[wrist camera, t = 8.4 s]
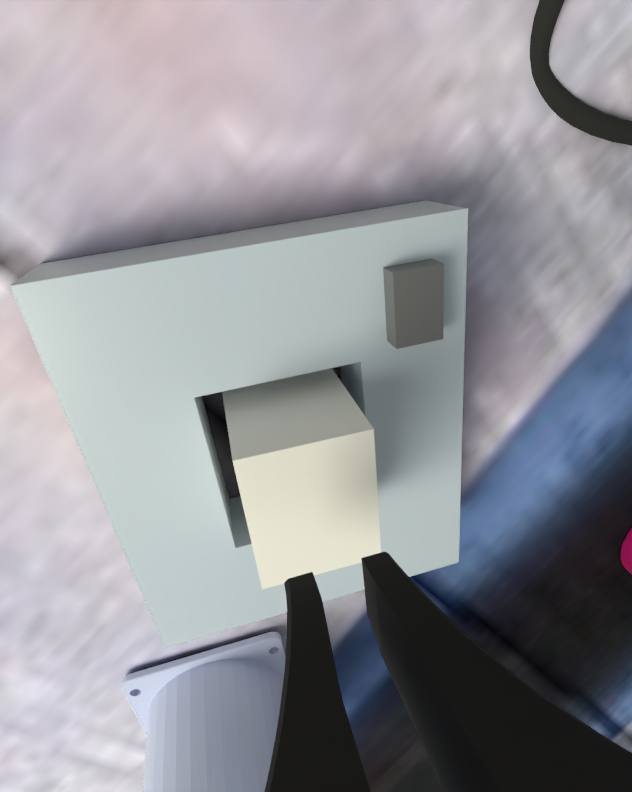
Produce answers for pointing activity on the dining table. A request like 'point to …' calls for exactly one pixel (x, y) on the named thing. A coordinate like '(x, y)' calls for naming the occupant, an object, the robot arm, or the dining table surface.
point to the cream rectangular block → (304, 475)
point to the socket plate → (253, 364)
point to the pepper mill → (627, 552)
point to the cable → (557, 94)
